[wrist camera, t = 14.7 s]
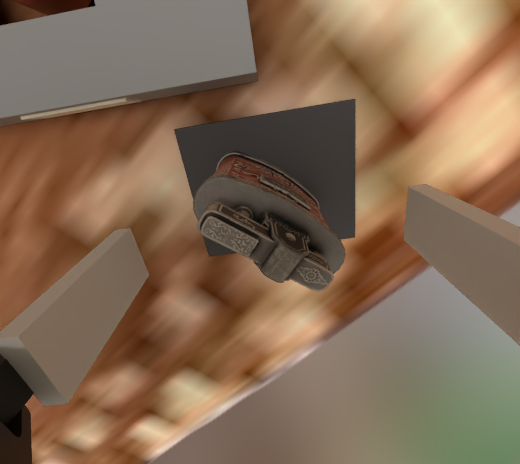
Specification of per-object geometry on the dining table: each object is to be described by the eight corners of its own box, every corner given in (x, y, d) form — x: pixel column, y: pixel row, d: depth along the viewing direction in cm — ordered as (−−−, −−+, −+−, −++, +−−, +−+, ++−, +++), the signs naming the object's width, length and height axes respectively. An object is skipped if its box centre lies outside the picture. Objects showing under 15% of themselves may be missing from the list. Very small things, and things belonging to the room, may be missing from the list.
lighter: (326, 196, 20) (381, 273, 11) (301, 231, 21) (330, 327, 12) (231, 139, 18) (199, 173, 9) (209, 181, 19) (163, 248, 10)
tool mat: (210, 252, 23) (209, 256, 22) (176, 128, 18) (174, 129, 18) (352, 234, 22) (355, 237, 21) (352, 99, 17) (355, 99, 17)
